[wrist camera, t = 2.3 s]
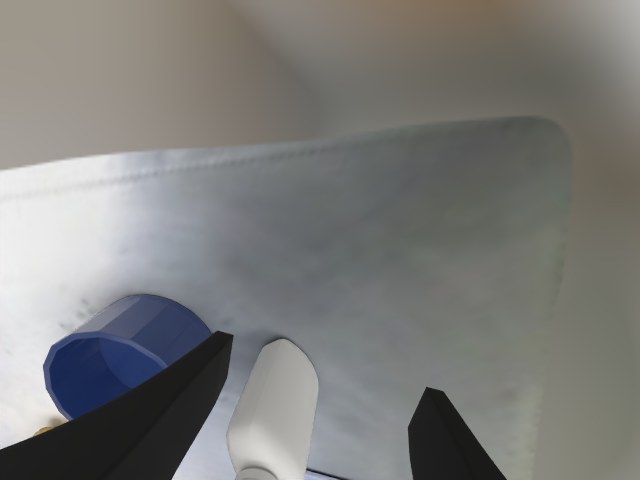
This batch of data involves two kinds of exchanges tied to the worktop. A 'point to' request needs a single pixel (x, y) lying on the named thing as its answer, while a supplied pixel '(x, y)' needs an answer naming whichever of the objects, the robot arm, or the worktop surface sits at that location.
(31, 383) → the worktop surface
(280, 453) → the eye dropper bottle
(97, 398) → the blue bowl
